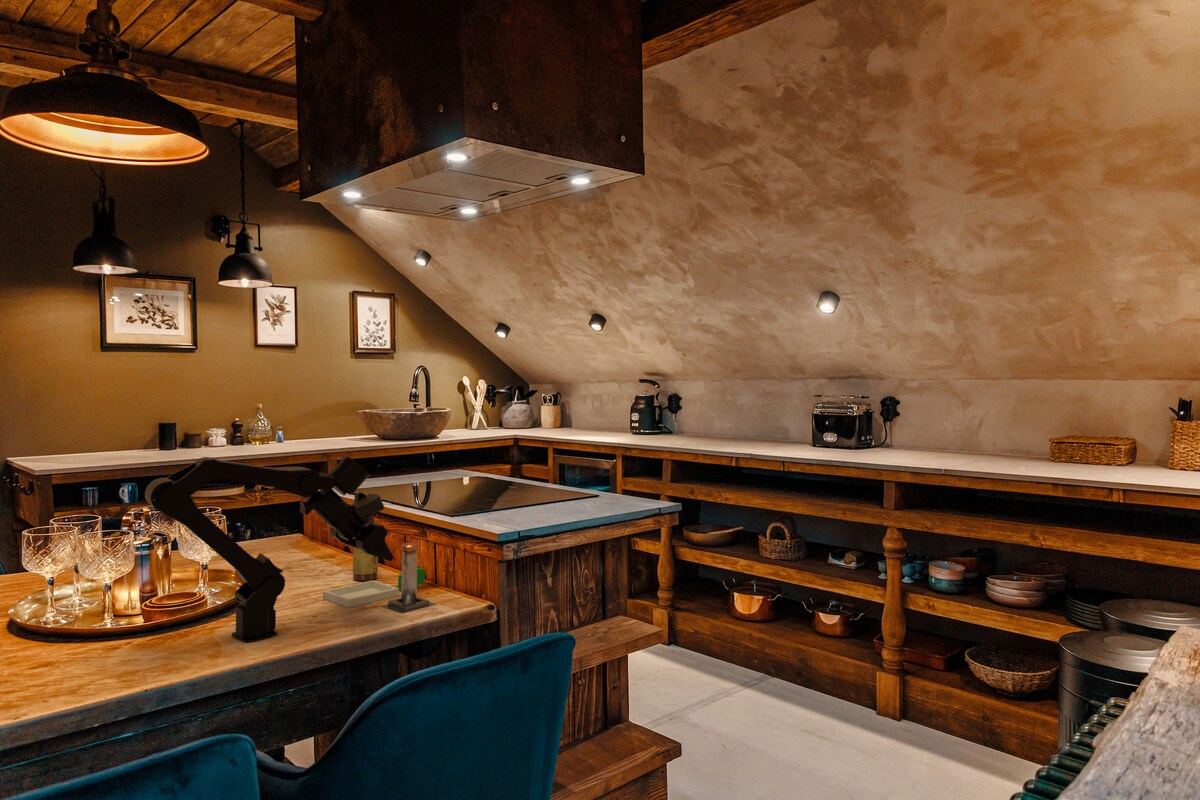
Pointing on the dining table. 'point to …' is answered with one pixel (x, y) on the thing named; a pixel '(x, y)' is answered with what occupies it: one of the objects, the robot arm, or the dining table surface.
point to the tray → (360, 594)
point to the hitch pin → (409, 572)
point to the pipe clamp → (419, 577)
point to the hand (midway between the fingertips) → (383, 555)
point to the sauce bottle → (364, 562)
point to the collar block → (402, 608)
